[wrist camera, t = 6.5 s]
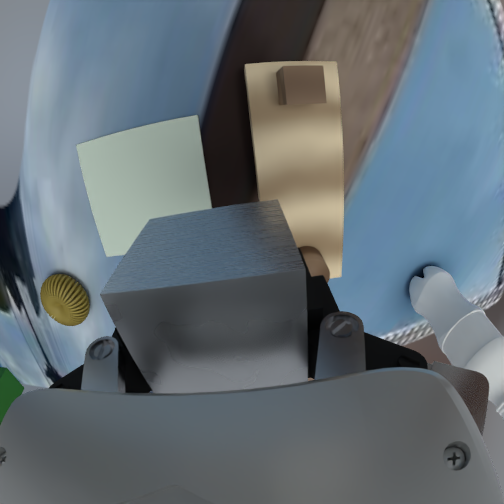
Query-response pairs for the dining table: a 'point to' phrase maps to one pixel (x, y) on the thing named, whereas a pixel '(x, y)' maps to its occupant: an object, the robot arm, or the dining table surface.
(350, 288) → the dining table surface
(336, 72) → the hand plane
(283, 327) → the grey block
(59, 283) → the sculpture
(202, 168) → the mat
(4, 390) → the hardback book
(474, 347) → the water bottle
